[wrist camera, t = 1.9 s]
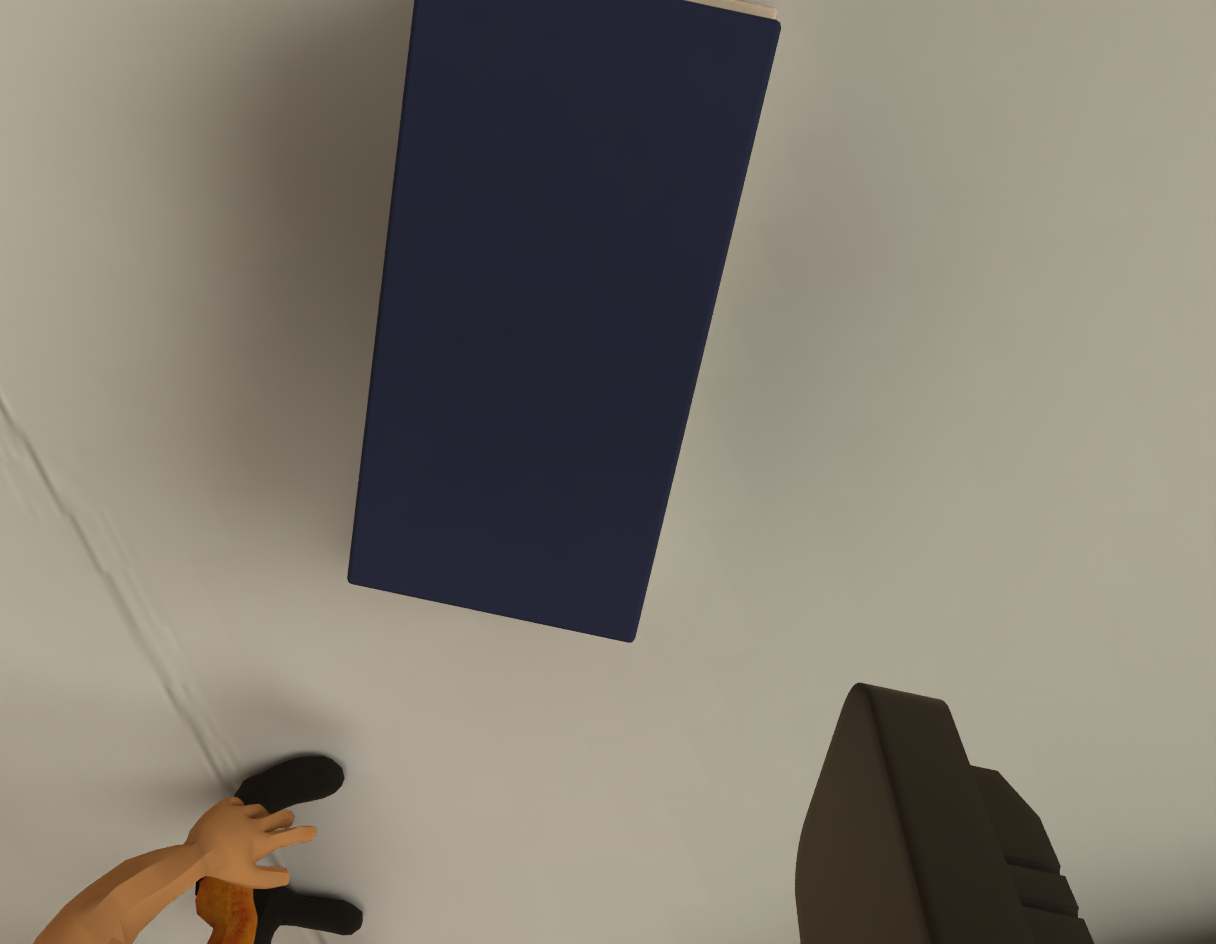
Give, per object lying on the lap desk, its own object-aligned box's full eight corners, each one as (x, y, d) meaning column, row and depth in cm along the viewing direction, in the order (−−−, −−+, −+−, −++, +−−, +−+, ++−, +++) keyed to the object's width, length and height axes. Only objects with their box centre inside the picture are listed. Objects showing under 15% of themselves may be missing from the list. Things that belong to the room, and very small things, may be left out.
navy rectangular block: (477, -54, 19) (413, -75, 15) (773, 9, 19) (794, 6, 15) (396, 554, 24) (329, 672, 19) (633, 604, 24) (618, 732, 19)
